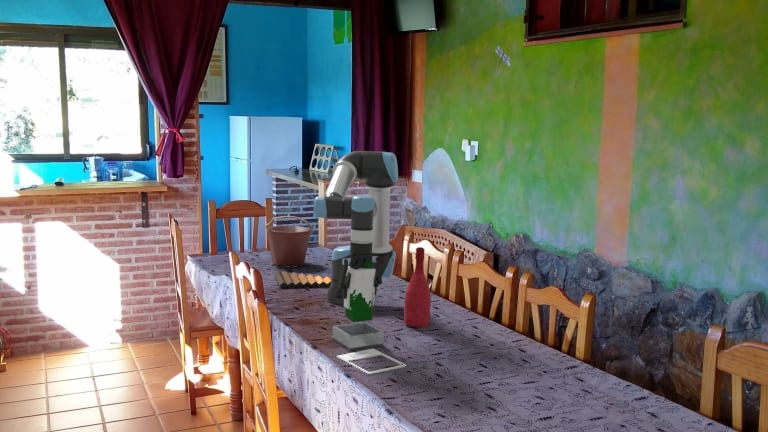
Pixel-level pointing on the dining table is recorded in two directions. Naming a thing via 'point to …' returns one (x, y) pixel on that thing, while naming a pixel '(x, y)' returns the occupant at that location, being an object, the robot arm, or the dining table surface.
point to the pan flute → (300, 280)
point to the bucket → (288, 243)
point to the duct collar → (358, 336)
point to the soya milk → (361, 293)
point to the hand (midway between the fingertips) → (359, 306)
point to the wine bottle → (417, 296)
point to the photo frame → (366, 355)
